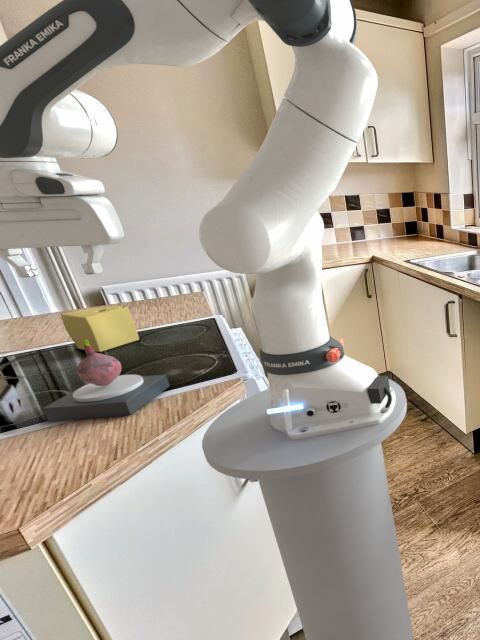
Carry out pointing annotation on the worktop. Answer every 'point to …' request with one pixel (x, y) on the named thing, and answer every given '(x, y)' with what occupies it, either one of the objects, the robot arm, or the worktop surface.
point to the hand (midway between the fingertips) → (62, 275)
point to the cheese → (101, 327)
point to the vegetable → (98, 367)
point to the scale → (107, 398)
